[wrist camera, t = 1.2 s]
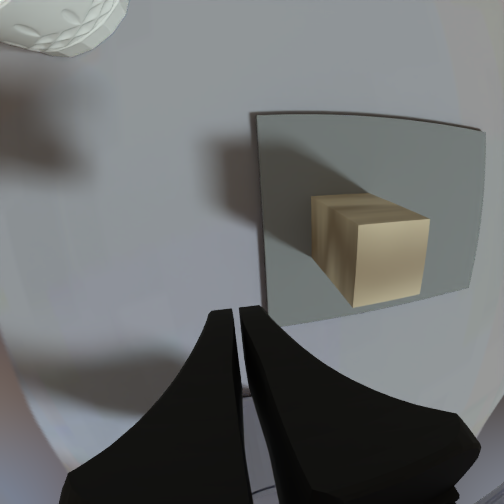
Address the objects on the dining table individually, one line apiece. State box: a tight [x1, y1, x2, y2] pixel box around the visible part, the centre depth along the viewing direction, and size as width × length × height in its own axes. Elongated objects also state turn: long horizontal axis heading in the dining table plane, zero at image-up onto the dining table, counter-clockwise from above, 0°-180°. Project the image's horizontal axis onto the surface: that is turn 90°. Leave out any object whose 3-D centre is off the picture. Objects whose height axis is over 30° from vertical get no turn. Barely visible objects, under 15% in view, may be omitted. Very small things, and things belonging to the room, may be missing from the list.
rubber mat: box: [256, 114, 486, 327], centre depth 20 cm, size 14×19×1 cm
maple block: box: [311, 193, 430, 308], centre depth 16 cm, size 4×4×6 cm
